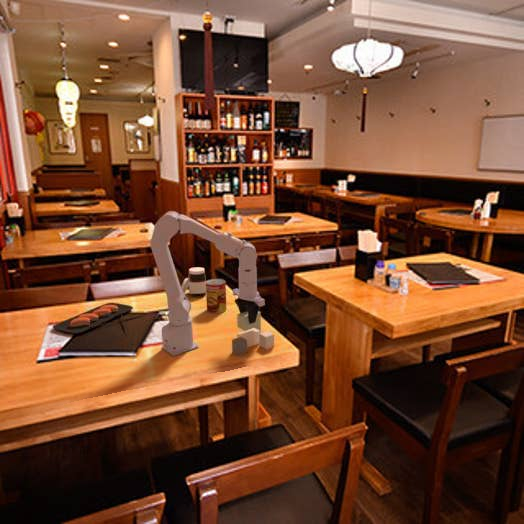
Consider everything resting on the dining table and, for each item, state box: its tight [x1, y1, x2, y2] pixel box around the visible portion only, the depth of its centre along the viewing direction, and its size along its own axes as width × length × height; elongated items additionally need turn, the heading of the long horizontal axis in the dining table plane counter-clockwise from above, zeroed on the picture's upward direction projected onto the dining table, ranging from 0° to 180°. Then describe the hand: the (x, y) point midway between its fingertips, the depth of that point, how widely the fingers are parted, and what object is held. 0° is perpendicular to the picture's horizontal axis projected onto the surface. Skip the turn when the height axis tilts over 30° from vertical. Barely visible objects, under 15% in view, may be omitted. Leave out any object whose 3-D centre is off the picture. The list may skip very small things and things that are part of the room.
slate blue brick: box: [243, 324, 262, 333], centre depth 145 cm, size 7×3×4 cm, turn 24°
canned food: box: [205, 278, 228, 314], centre depth 166 cm, size 8×8×12 cm
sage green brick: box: [236, 310, 262, 331], centre depth 135 cm, size 7×3×4 cm, turn 129°
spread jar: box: [180, 266, 207, 298], centre depth 186 cm, size 12×11×12 cm
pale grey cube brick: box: [259, 330, 275, 350], centre depth 135 cm, size 3×3×4 cm
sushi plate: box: [52, 302, 150, 338], centre depth 156 cm, size 29×30×4 cm
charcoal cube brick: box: [231, 337, 248, 357], centre depth 130 cm, size 3×3×4 cm
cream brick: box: [236, 328, 260, 349], centre depth 136 cm, size 7×3×4 cm, turn 129°
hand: (248, 321), depth 135 cm, fingers closed on sage green brick, 3 cm apart
